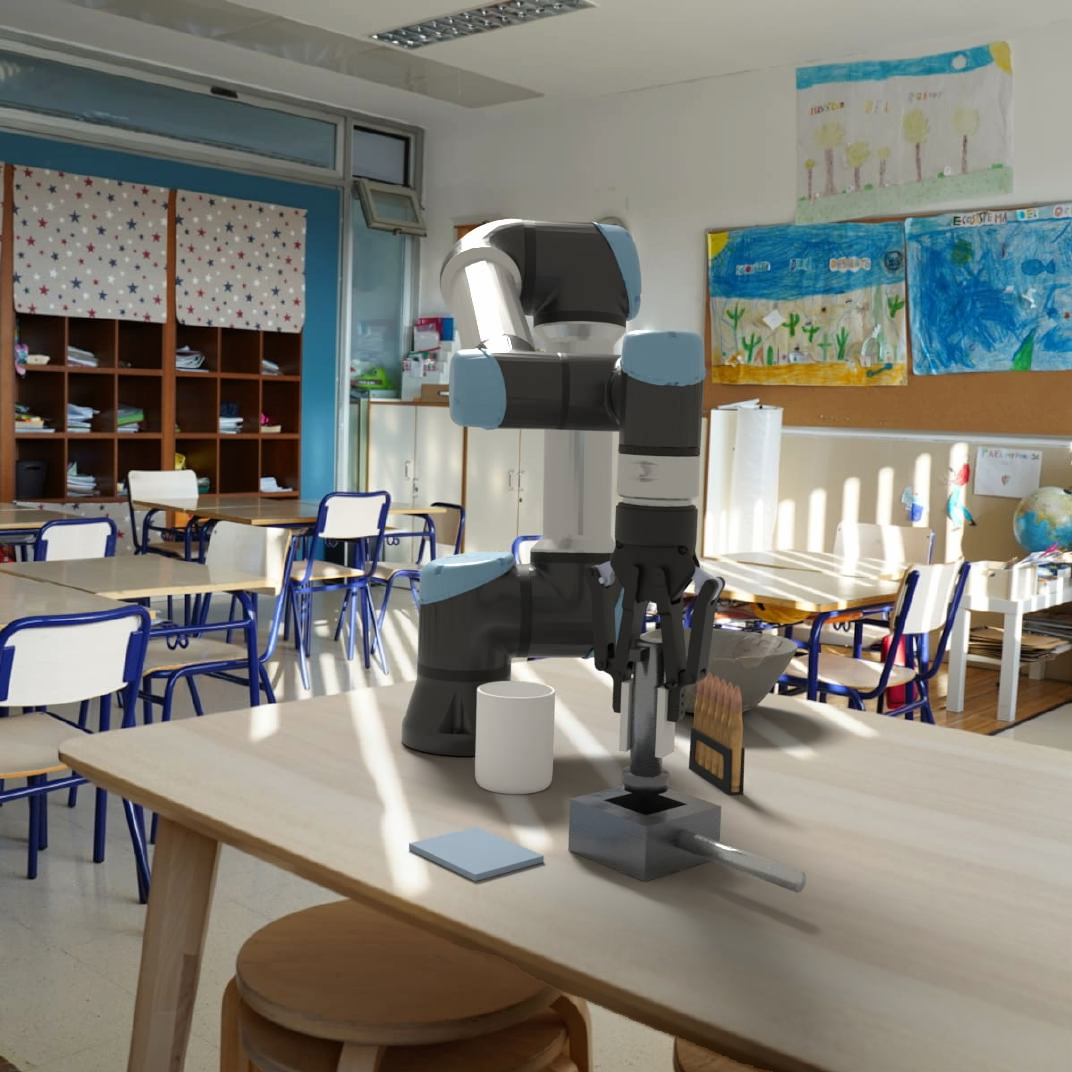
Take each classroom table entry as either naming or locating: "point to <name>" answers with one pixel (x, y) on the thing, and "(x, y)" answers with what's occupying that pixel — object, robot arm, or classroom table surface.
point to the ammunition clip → (718, 735)
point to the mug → (514, 736)
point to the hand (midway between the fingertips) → (646, 750)
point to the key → (645, 720)
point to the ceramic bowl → (741, 662)
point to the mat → (476, 853)
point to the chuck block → (662, 836)
